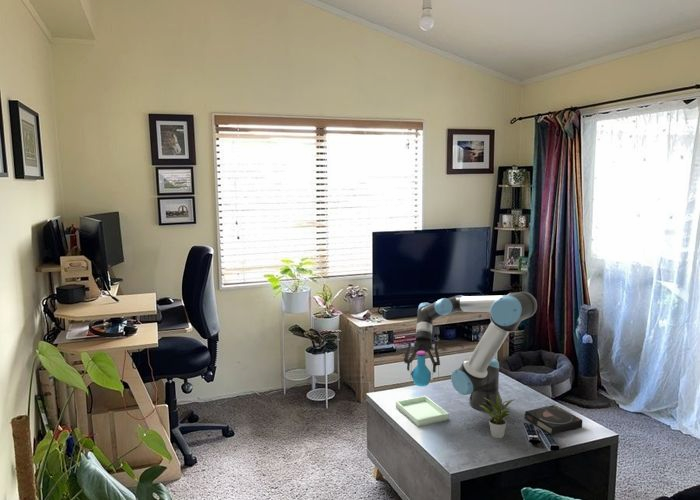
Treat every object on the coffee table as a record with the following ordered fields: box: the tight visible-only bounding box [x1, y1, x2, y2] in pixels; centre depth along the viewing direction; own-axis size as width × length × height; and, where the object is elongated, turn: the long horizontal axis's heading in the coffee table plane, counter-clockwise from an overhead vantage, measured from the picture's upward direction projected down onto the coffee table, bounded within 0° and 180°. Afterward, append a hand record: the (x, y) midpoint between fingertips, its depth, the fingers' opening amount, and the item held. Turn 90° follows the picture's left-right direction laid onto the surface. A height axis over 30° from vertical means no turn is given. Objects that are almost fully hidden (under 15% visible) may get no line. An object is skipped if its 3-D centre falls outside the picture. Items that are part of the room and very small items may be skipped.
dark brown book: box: [524, 404, 583, 436], centre depth 227 cm, size 16×17×4 cm
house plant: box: [480, 395, 516, 439], centre depth 218 cm, size 14×14×16 cm
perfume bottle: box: [411, 351, 431, 387], centre depth 236 cm, size 9×9×15 cm
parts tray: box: [395, 395, 450, 428], centre depth 239 cm, size 21×16×3 cm
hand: (420, 378), depth 233 cm, fingers closed on perfume bottle, 9 cm apart
